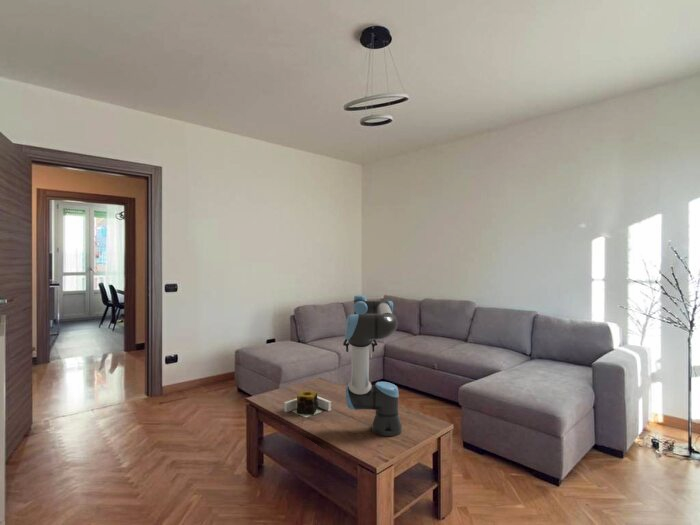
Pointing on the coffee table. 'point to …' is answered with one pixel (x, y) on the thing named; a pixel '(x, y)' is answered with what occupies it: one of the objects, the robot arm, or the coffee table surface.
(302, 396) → the candle
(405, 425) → the coffee table surface
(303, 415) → the pad
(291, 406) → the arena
